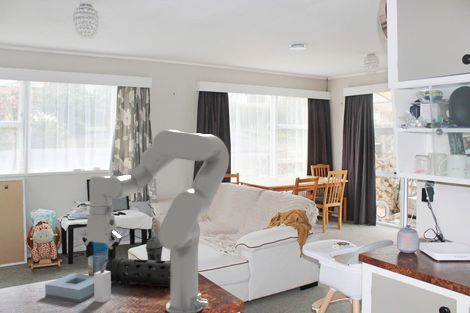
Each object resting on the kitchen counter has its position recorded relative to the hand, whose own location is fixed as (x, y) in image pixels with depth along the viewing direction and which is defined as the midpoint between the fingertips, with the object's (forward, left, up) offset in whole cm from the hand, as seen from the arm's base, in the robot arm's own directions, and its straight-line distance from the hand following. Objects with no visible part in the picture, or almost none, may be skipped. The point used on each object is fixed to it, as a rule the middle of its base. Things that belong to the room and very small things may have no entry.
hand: (100, 257), depth 147 cm
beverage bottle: (+16, -18, -15) cm, 29 cm away
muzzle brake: (-4, -18, -16) cm, 24 cm away
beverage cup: (-2, -32, -15) cm, 36 cm away
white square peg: (-1, 0, -15) cm, 15 cm away
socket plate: (+13, -2, -15) cm, 20 cm away
